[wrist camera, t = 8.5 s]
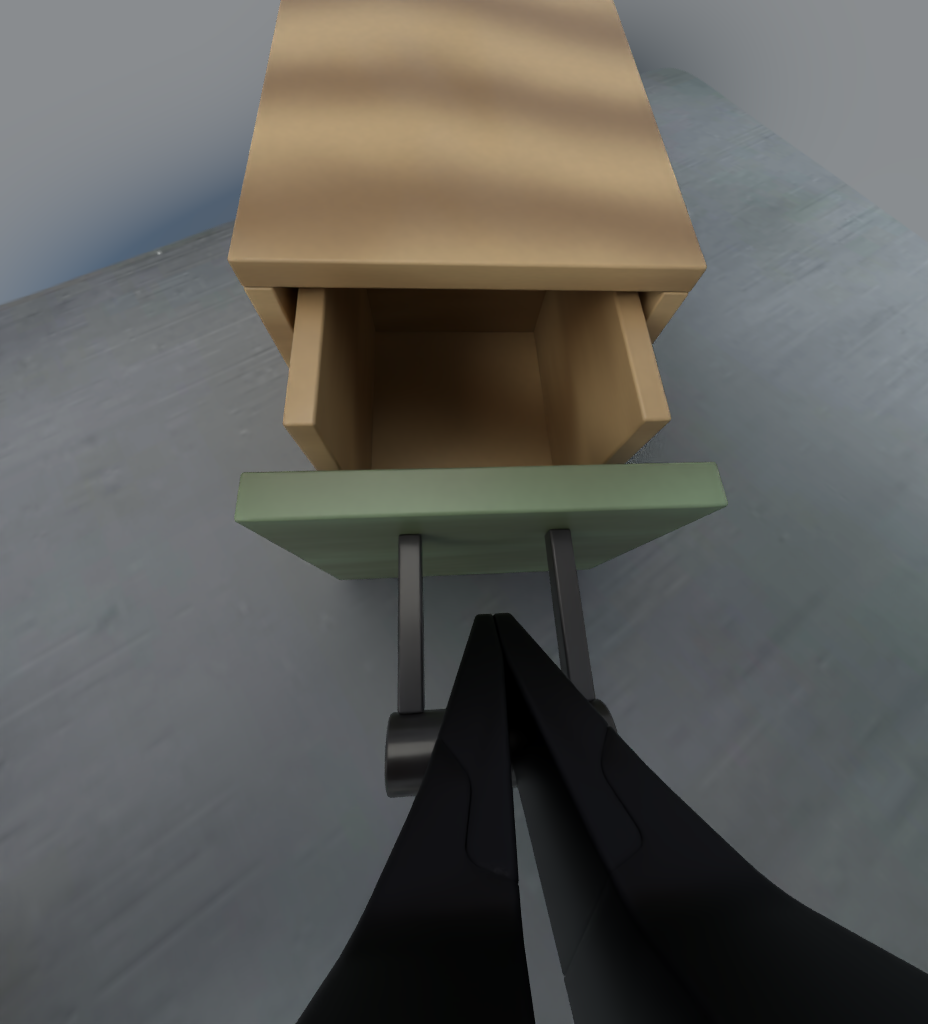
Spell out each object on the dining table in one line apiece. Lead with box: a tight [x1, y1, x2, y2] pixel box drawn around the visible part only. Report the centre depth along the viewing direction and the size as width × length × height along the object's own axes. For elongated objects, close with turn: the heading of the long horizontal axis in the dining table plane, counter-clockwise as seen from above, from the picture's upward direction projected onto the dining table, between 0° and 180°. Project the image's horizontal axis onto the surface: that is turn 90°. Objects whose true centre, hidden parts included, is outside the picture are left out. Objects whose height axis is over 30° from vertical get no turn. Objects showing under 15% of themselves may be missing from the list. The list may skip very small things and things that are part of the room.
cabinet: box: [228, 0, 707, 367], centre depth 17 cm, size 15×13×11 cm
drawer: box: [234, 287, 728, 798], centre depth 14 cm, size 19×11×9 cm, turn 3°
